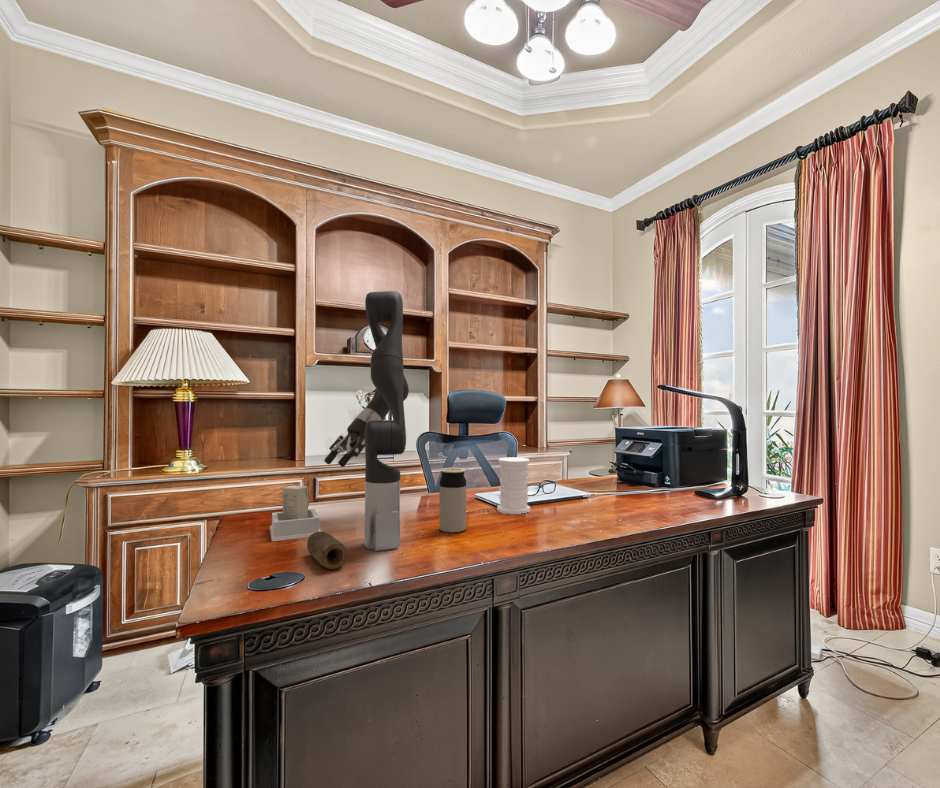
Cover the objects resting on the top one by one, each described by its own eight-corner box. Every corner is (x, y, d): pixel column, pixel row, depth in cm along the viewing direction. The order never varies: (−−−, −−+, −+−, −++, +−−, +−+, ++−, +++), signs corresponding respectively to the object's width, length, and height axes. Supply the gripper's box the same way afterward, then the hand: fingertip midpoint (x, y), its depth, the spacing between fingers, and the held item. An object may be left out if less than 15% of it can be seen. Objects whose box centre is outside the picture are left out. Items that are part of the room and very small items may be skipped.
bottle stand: (321, 535, 132) (321, 518, 132) (271, 541, 126) (272, 523, 126) (315, 524, 143) (315, 508, 144) (269, 529, 138) (270, 512, 138)
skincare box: (309, 528, 136) (309, 486, 136) (297, 531, 132) (297, 488, 132) (293, 525, 139) (293, 484, 139) (281, 529, 135) (281, 486, 135)
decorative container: (509, 516, 155) (509, 462, 155) (491, 508, 165) (491, 458, 165) (537, 512, 161) (537, 460, 161) (517, 505, 171) (517, 456, 171)
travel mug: (462, 534, 134) (463, 471, 134) (436, 532, 136) (436, 470, 136) (468, 526, 142) (468, 467, 142) (443, 525, 144) (443, 466, 144)
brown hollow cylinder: (352, 568, 107) (352, 539, 107) (322, 575, 103) (322, 544, 103) (329, 551, 119) (329, 525, 119) (301, 556, 115) (301, 529, 115)
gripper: (346, 416, 155) (314, 454, 147) (370, 417, 145) (337, 458, 137) (360, 431, 159) (329, 469, 150) (384, 433, 149) (353, 473, 140)
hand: (333, 464), depth 143 cm, fingers open, 8 cm apart
